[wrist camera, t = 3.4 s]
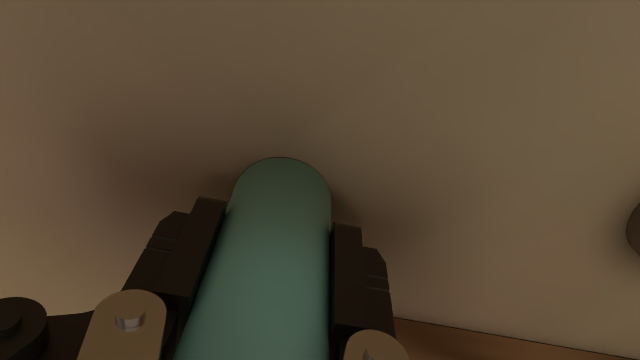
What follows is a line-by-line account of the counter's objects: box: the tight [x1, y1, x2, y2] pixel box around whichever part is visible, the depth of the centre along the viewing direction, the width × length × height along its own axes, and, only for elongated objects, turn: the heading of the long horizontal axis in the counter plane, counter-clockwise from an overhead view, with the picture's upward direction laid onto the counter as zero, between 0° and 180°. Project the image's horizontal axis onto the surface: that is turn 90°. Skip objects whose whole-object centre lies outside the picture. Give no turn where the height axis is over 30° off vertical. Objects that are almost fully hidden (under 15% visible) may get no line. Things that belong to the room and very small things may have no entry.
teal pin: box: [172, 158, 331, 360], centre depth 11 cm, size 3×3×8 cm
